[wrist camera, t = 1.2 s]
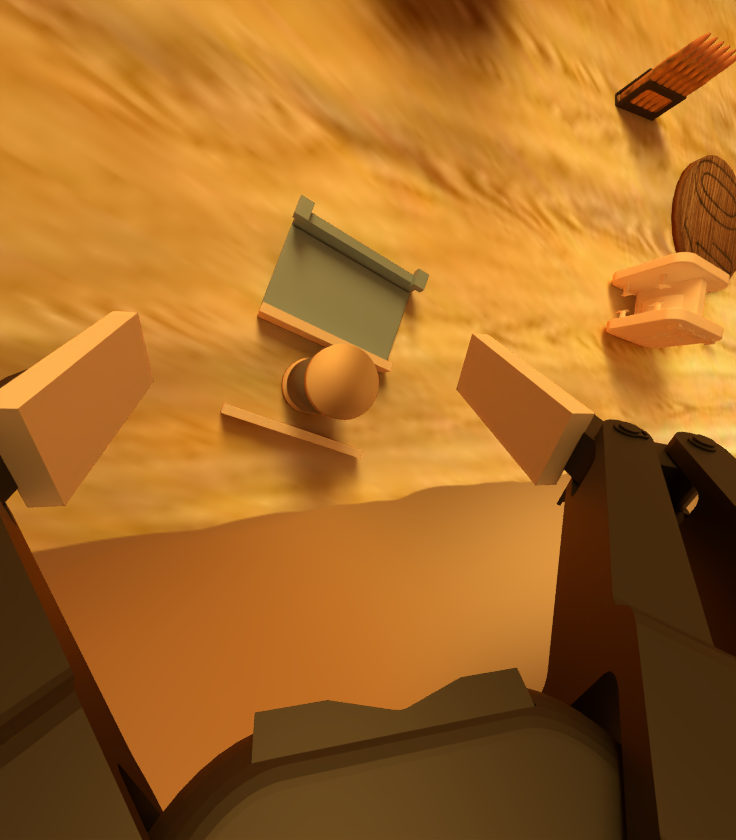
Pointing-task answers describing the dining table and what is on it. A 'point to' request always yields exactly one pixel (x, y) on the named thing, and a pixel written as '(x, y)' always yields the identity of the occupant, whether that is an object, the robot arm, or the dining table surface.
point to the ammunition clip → (675, 78)
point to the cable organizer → (668, 301)
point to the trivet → (706, 212)
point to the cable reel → (332, 383)
